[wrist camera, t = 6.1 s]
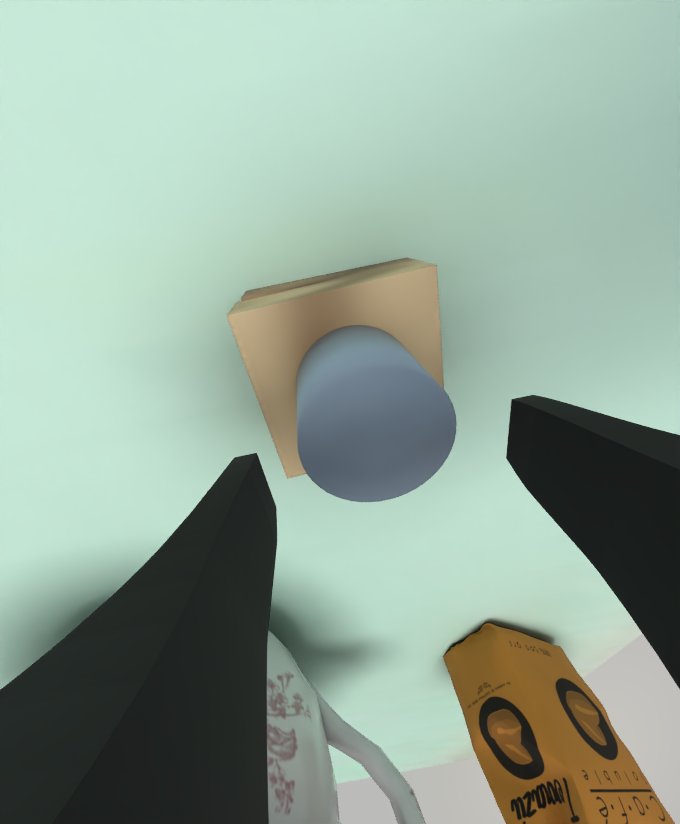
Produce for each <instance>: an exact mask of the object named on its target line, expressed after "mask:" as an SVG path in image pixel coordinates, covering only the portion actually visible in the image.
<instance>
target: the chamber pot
mask: <svg viewBox="0 0 680 824" xmlns="http://www.w3.org/2000/svg"><path fill="white" fill-rule="evenodd" d="M328 744H329V745H331V746H333V747H335V748H336V749H338V750H340V751H342V752H343V753H345V754H346V755H348V756H349V757H351V758H353V759H354V760H356V761H357V762H359V763H360V764H362V766H363V767H364V768H365V770H366V771H367V772H368V773H369V775H370V776H371V777H372V778H373V780H374V781H375V782H376V783H377V785H378V786H379V787H380V788H381V790H382V791H383V792H384V793H385V795H386V796H387V797H388V798H389V800H390V802H391V805H392V808H393V811H394V814H395V817H396V820H397V822H398V824H426V823H425V821H424V818H423V815H422V813H421V810H420V807H419V804H418V802H417V799H416V797H415V794H414V791H413V789H412V788H411V787H410V785H409V784H408V783H407V781H406V780H405V779H404V778H403V776H402V775H401V774H400V772H399V771H398V770H397V768H396V767H395V766H394V765H393V763H392V762H391V761H390V759H389V758H388V757H387V755H386V754H385V753H384V752H383V750H382V749H381V748H380V747H379V746H377V745H376V744H374V743H373V742H372V741H370V740H369V739H367V738H366V737H365V736H363V735H362V734H361V733H359V732H358V731H357V730H355V729H354V728H353V727H351V726H350V725H349V724H347V723H346V722H345V721H343V720H342V719H341V717H340V716H339V715H338V714H337V713H336V712H335V711H334V710H333V709H332V708H331V707H330V706H329V705H328V704H327V703H326V702H325V700H324V699H323V698H322V697H321V695H320V694H319V693H318V692H317V690H316V689H315V688H314V687H313V685H312V684H311V683H310V681H309V680H308V679H307V678H305V676H304V675H303V673H302V671H301V670H300V668H299V666H298V665H297V663H296V661H295V660H294V658H293V656H292V654H291V653H290V651H289V650H288V649H287V648H286V647H285V646H284V645H283V644H282V643H281V642H280V641H279V640H278V639H277V638H276V637H275V636H274V635H273V634H272V633H271V632H270V631H269V630H268V643H267V765H268V812H269V824H341V823H340V821H339V809H338V798H337V785H336V780H335V775H334V771H333V766H332V762H331V757H330V753H329V748H328Z"/></svg>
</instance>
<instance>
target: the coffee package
mask: <svg viewBox="0 0 680 824" xmlns="http://www.w3.org/2000/svg"><path fill="white" fill-rule="evenodd" d="M444 661H445V663H446V666H447V668H448V671H449V674H450V677H451V680H452V683H453V686H454V689H455V692H456V695H457V697H458V700H459V702H460V705H461V708H462V711H463V715H464V717H465V721H466V725H467V728H468V731H469V735H470V738H471V742H472V746H473V749H474V751H475V753H476V756H477V758H478V761H479V763H480V765H481V768H482V770H483V772H484V774H485V776H486V779H487V781H488V783H489V785H490V788H491V790H492V792H493V795H494V797H495V800H496V802H497V805H498V807H499V809H500V811H501V813H502V816H503V818H504V820H505V822H506V824H675V823H674V822H673V820H672V818H671V817H670V815H669V814H668V812H667V811H666V810H665V808H664V806H663V805H662V803H661V802H660V800H659V799H658V797H657V796H656V794H655V792H654V791H653V789H652V787H651V786H650V784H649V782H648V781H647V779H646V777H645V776H644V774H643V773H642V771H641V770H640V768H639V766H638V764H637V763H636V761H635V760H634V758H633V756H632V755H631V753H630V752H629V750H628V749H627V747H626V746H625V745H624V743H623V742H622V741H621V739H620V738H619V737H618V735H617V734H616V732H615V730H614V729H613V727H612V725H611V723H610V720H609V718H608V715H607V713H606V710H605V709H604V707H603V705H602V704H601V702H600V701H599V700H598V698H597V697H596V696H595V694H594V693H593V692H592V690H591V689H590V688H589V687H588V685H587V684H586V683H585V682H584V681H583V679H582V678H581V677H580V675H579V674H578V673H577V671H576V670H575V668H574V667H573V665H572V664H571V662H570V661H569V659H568V658H567V656H566V654H565V653H564V651H563V650H562V648H561V647H560V646H555V645H552V644H550V643H547V642H544V641H541V640H538V639H536V638H533V637H530V636H528V635H525V634H523V633H521V632H518V631H514V630H510V629H507V628H503V627H498V626H495V625H493V624H491V623H486V624H484V625H483V626H482V628H481V629H480V630H479V631H478V632H475V633H472V634H470V635H469V636H468V637H467V638H466V639H465V640H464V641H463V642H461V643H460V644H456V646H455V647H452V648H450V651H448V652H447V653H446V654H445V655H444Z"/></svg>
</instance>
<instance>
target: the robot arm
mask: <svg viewBox="0 0 680 824" xmlns="http://www.w3.org/2000/svg"><path fill="white" fill-rule="evenodd" d="M506 458H507V460H508V461H509V463H510V465H511V466H512V468H513V469H514V471H515V473H516V474H517V476H518V477H519V478H520V480H521V481H522V483H523V484H524V486H525V487H526V488H527V490H528V491H529V492H530V493H531V494H532V495H533V497H534V498H535V499H536V500H537V501H538V502H539V504H540V505H541V506H542V507H543V508H544V509H545V510H546V512H547V513H548V514H549V515H550V516H551V517H552V518H553V519H554V521H555V522H556V523H557V524H558V525H559V526H560V527H561V529H562V530H563V531H564V532H565V533H566V534H567V535H568V536H569V538H570V539H571V540H572V541H573V542H574V543H575V544H576V545H577V547H578V548H579V549H580V550H581V551H582V552H583V553H584V555H585V556H586V557H587V558H588V559H589V561H590V562H591V563H592V564H593V565H594V567H595V568H596V569H597V570H598V572H599V573H600V574H601V576H602V577H603V578H604V580H605V581H606V582H607V584H608V585H609V587H610V588H611V589H612V591H613V592H614V593H615V595H616V596H617V598H618V599H619V600H620V602H621V603H622V604H623V606H624V607H625V608H626V610H627V611H628V613H629V614H630V616H631V617H632V618H633V620H634V621H635V623H636V624H637V626H638V627H639V629H640V630H641V632H642V633H643V634H644V636H645V637H646V639H647V640H648V642H649V643H650V645H651V646H652V647H653V649H654V650H655V652H656V653H657V655H658V656H659V658H660V659H661V661H662V662H663V664H664V665H665V667H666V669H667V670H668V672H669V673H670V675H671V676H672V678H673V679H674V681H675V683H676V684H677V686H678V687H679V688H680V435H677V434H673V433H669V432H665V431H661V430H657V429H653V428H650V427H646V426H642V425H639V424H635V423H632V422H628V421H625V420H621V419H618V418H614V417H611V416H608V415H604V414H601V413H598V412H594V411H591V410H587V409H584V408H581V407H577V406H574V405H571V404H567V403H564V402H560V401H557V400H553V399H549V398H545V397H541V396H536V395H531V396H526V397H521V398H516V399H512V401H511V412H510V423H509V434H508V445H507V456H506ZM276 547H277V517H276V505H275V503H274V500H273V497H272V494H271V492H270V489H269V486H268V483H267V480H266V478H265V475H264V472H263V469H262V467H261V464H260V461H259V458H258V455H257V453H254V454H249V455H245V456H240V457H235V458H234V459H233V460H232V461H231V463H230V464H229V465H228V466H227V468H226V469H225V470H224V471H223V473H222V474H221V475H220V477H219V478H218V479H217V481H216V482H215V483H214V484H213V486H212V487H211V488H210V490H209V491H208V492H207V493H206V495H205V496H204V497H203V498H202V500H201V501H200V502H199V503H198V505H197V506H196V507H195V508H194V510H193V511H192V512H191V513H190V514H189V516H188V517H187V518H186V519H185V520H184V521H183V522H182V524H181V525H180V526H179V527H178V528H177V529H176V530H175V532H174V533H173V534H172V535H171V536H170V537H169V539H168V540H167V541H166V542H165V543H164V544H163V545H162V546H161V548H160V549H159V550H158V551H157V552H156V553H155V554H154V555H153V556H152V557H151V558H150V559H149V560H148V561H147V562H146V563H145V564H144V565H143V566H142V567H141V568H140V569H139V570H138V571H137V572H136V573H135V574H134V575H133V576H132V577H131V578H130V579H129V580H128V581H127V582H126V583H125V584H124V585H123V586H122V587H121V588H120V589H119V590H118V591H117V592H116V593H115V594H114V595H113V596H111V597H110V598H109V599H108V600H107V601H106V602H105V603H104V604H102V605H101V606H100V607H99V608H98V609H97V610H96V611H95V612H93V613H92V614H91V615H90V616H89V617H88V618H87V619H85V620H84V621H83V622H82V623H81V624H80V625H79V626H78V627H76V628H75V629H74V630H73V631H72V632H71V633H70V634H69V635H67V636H66V637H65V638H64V639H63V640H62V641H60V642H59V643H58V644H57V645H56V646H54V647H53V648H52V649H51V650H50V651H48V652H47V653H46V654H45V655H43V656H42V657H41V658H40V659H39V660H37V661H36V662H35V663H34V664H32V665H31V666H30V667H29V668H28V669H26V670H25V671H24V672H23V673H21V674H20V675H19V676H17V677H16V678H15V679H14V680H12V681H11V682H10V683H9V684H7V685H6V686H5V687H3V688H2V689H1V690H0V824H269V812H268V765H267V643H268V627H269V617H270V607H271V597H272V587H273V578H274V568H275V558H276Z"/></svg>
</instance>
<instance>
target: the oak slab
mask: <svg viewBox="0 0 680 824" xmlns="http://www.w3.org/2000/svg"><path fill="white" fill-rule="evenodd" d="M227 318H228V321H229V323H230V326H231V329H232V332H233V334H234V337H235V340H236V342H237V345H238V348H239V350H240V353H241V356H242V358H243V361H244V364H245V367H246V369H247V372H248V375H249V377H250V380H251V383H252V385H253V388H254V391H255V393H256V396H257V399H258V401H259V404H260V407H261V410H262V412H263V415H264V418H265V420H266V423H267V426H268V428H269V431H270V434H271V436H272V439H273V442H274V445H275V447H276V450H277V453H278V455H279V458H280V461H281V463H282V466H283V469H284V471H285V474H286V477H287V478H292V477H296V476H300V475H304V474H307V473H306V471H305V470H304V468H303V466H302V463H301V461H300V458H299V454H298V445H297V374H298V369H299V366H300V363H301V361H302V359H303V357H304V355H305V354H306V352H307V351H308V350H309V348H310V347H311V346H312V345H313V344H314V343H315V342H316V341H317V340H318V339H320V338H321V337H322V336H324V335H325V334H327V333H329V332H331V331H333V330H335V329H338V328H341V327H345V326H351V325H367V326H372V327H376V328H379V329H382V330H384V331H386V332H388V333H389V334H391V335H392V336H394V337H395V338H396V339H397V340H398V341H399V342H400V343H401V344H402V345H403V346H404V347H405V348H406V349H407V350H408V352H409V353H410V354H411V355H412V356H413V357H414V358H415V359H416V360H417V361H418V362H419V363H420V364H421V366H422V367H423V368H424V369H425V370H426V371H427V372H428V373H429V374H430V375H431V376H432V377H433V378H434V380H435V381H436V382H437V383H438V384H439V385H440V386H441V387H442V388H443V389H444V383H443V366H442V349H441V332H440V315H439V298H438V281H437V265H434V264H430V263H426V262H422V261H418V260H412V261H408V262H404V263H399V264H395V265H391V266H387V267H383V268H379V269H374V270H370V271H366V272H362V273H358V274H354V275H350V276H345V277H341V278H337V279H333V280H329V281H325V282H320V283H316V284H312V285H308V286H304V287H300V288H295V289H291V290H287V291H283V292H279V293H275V294H271V295H266V296H262V297H258V298H254V299H250V300H246V301H241V302H237V303H236V304H235V305H234V307H233V308H232V309H231V311H230V312H229V313H228V315H227Z"/></svg>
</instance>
